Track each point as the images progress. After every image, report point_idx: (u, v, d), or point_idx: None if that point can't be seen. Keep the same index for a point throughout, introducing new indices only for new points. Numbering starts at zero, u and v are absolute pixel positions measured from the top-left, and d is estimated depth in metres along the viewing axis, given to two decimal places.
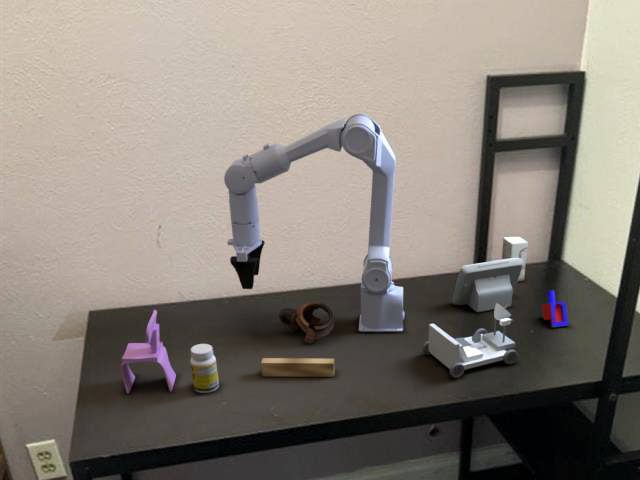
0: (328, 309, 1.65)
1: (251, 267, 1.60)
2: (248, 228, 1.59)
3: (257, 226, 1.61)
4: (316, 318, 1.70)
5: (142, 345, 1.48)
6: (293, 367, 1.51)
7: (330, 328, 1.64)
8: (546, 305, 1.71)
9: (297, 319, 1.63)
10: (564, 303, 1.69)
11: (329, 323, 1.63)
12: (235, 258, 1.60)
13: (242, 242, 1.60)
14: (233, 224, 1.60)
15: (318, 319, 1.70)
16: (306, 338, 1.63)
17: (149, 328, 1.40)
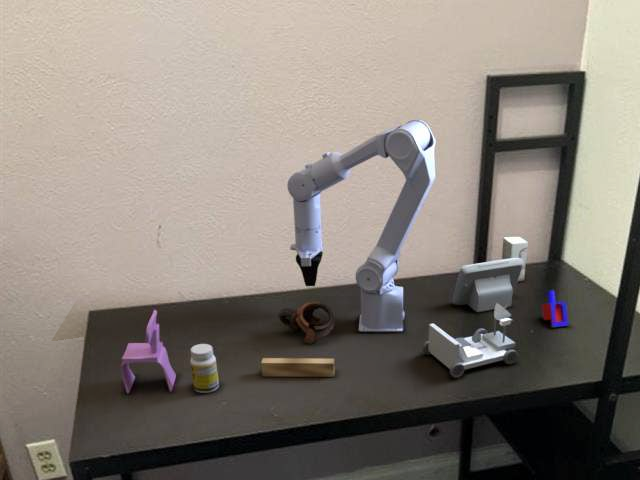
0: (328, 309, 1.65)
1: (315, 265, 1.69)
2: (311, 234, 1.65)
3: (320, 232, 1.67)
4: (316, 318, 1.70)
5: (142, 345, 1.48)
6: (293, 367, 1.51)
7: (330, 328, 1.64)
8: (546, 305, 1.71)
9: (297, 319, 1.63)
10: (564, 303, 1.69)
11: (329, 323, 1.63)
12: (300, 257, 1.69)
13: (305, 248, 1.67)
14: (297, 230, 1.66)
15: (318, 319, 1.70)
16: (306, 338, 1.63)
17: (149, 328, 1.40)
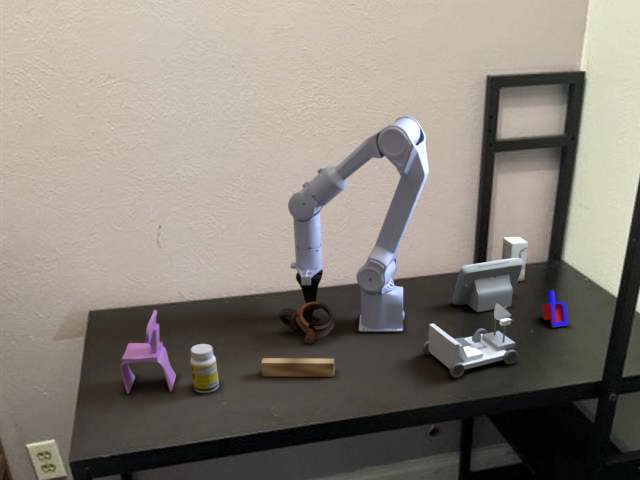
0: (328, 309, 1.65)
1: (315, 284, 1.70)
2: (312, 253, 1.66)
3: (320, 251, 1.67)
4: (316, 318, 1.70)
5: (142, 345, 1.48)
6: (293, 367, 1.51)
7: (330, 328, 1.64)
8: (546, 305, 1.71)
9: (297, 319, 1.63)
10: (564, 303, 1.69)
11: (329, 323, 1.63)
12: (300, 275, 1.70)
13: (306, 266, 1.67)
14: (297, 249, 1.66)
15: (318, 319, 1.70)
16: (306, 338, 1.63)
17: (149, 328, 1.40)
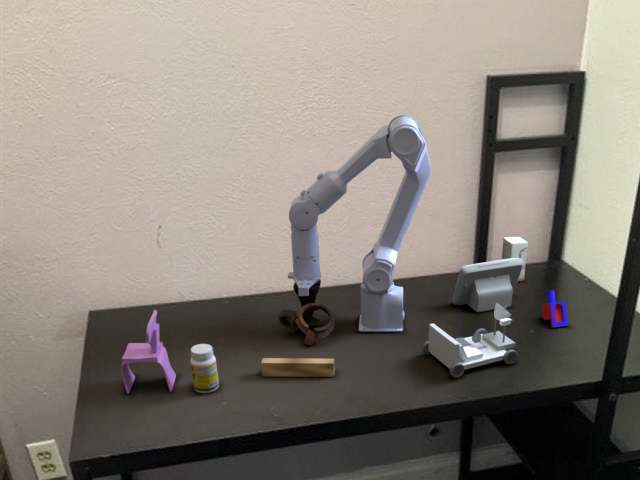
0: (328, 310, 1.64)
1: (313, 294, 1.66)
2: (309, 263, 1.62)
3: (318, 260, 1.63)
4: (316, 319, 1.70)
5: (142, 345, 1.48)
6: (293, 367, 1.51)
7: (330, 329, 1.63)
8: (546, 305, 1.71)
9: (297, 321, 1.62)
10: (564, 303, 1.69)
11: (328, 324, 1.62)
12: (298, 285, 1.66)
13: (303, 276, 1.63)
14: (294, 259, 1.62)
15: (318, 320, 1.70)
16: (306, 340, 1.62)
17: (149, 328, 1.40)
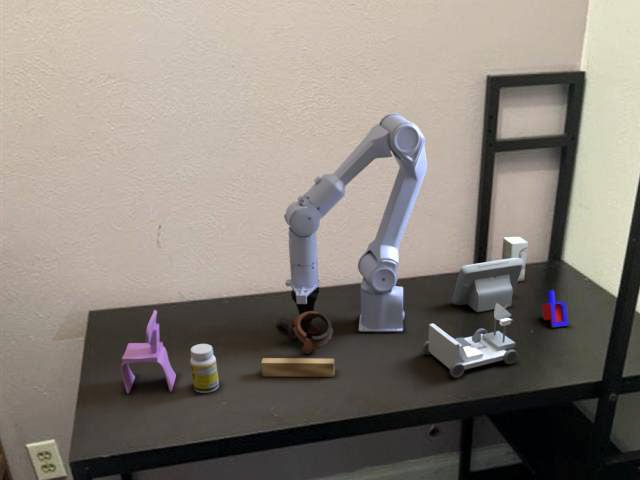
0: (326, 318, 1.61)
1: (312, 301, 1.62)
2: (307, 270, 1.58)
3: (316, 267, 1.59)
4: (314, 327, 1.66)
5: (142, 345, 1.48)
6: (293, 367, 1.51)
7: (328, 338, 1.60)
8: (546, 305, 1.71)
9: (294, 329, 1.59)
10: (564, 303, 1.69)
11: (327, 333, 1.59)
12: (296, 293, 1.62)
13: (301, 284, 1.59)
14: (292, 266, 1.58)
15: (316, 328, 1.66)
16: (303, 349, 1.59)
17: (149, 328, 1.40)
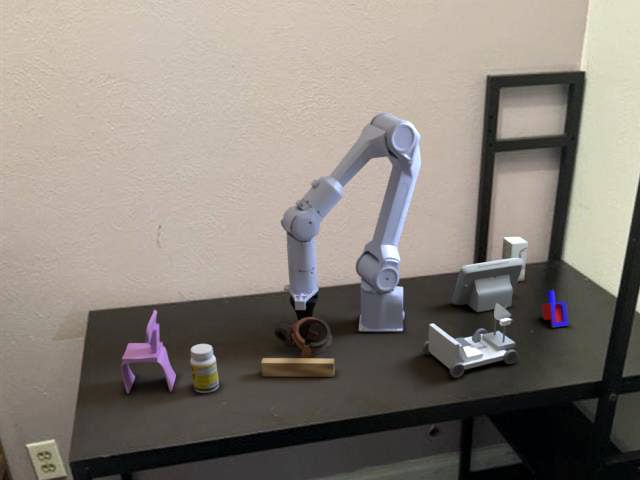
0: (325, 325, 1.58)
1: (310, 307, 1.60)
2: (306, 275, 1.56)
3: (315, 273, 1.57)
4: (313, 333, 1.64)
5: (142, 345, 1.48)
6: (293, 367, 1.51)
7: (327, 345, 1.57)
8: (546, 305, 1.71)
9: (293, 335, 1.57)
10: (564, 303, 1.69)
11: (326, 339, 1.56)
12: None
13: (300, 289, 1.57)
14: (291, 271, 1.56)
15: (315, 334, 1.64)
16: (302, 355, 1.56)
17: (149, 328, 1.40)
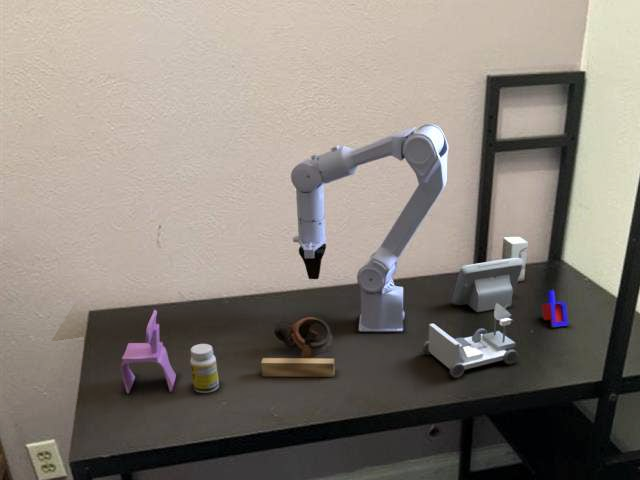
0: (325, 325, 1.58)
1: (319, 258, 1.66)
2: (315, 225, 1.62)
3: (323, 224, 1.64)
4: (313, 333, 1.64)
5: (142, 345, 1.48)
6: (293, 367, 1.51)
7: (327, 345, 1.57)
8: (546, 305, 1.71)
9: (293, 335, 1.57)
10: (564, 303, 1.69)
11: (326, 339, 1.56)
12: (303, 249, 1.66)
13: (309, 240, 1.64)
14: (300, 221, 1.63)
15: (315, 334, 1.64)
16: (302, 355, 1.56)
17: (149, 328, 1.40)
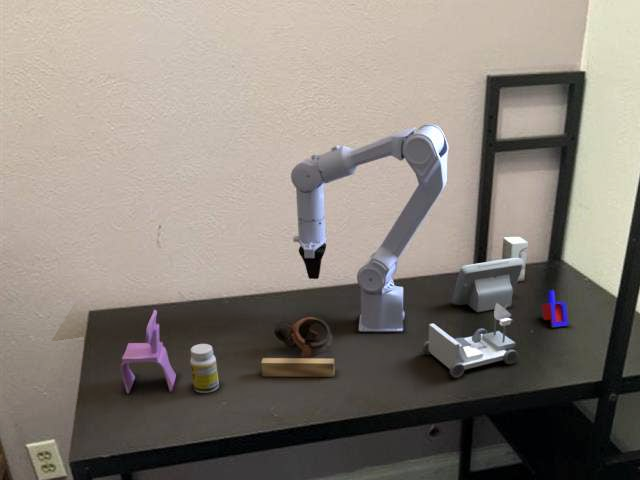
0: (325, 325, 1.58)
1: (319, 257, 1.66)
2: (315, 225, 1.62)
3: (323, 223, 1.64)
4: (313, 333, 1.64)
5: (142, 345, 1.48)
6: (293, 367, 1.51)
7: (327, 344, 1.57)
8: (546, 305, 1.71)
9: (293, 335, 1.57)
10: (564, 303, 1.69)
11: (326, 339, 1.56)
12: (303, 249, 1.66)
13: (309, 239, 1.64)
14: (300, 221, 1.63)
15: (315, 334, 1.64)
16: (302, 355, 1.56)
17: (149, 328, 1.40)
